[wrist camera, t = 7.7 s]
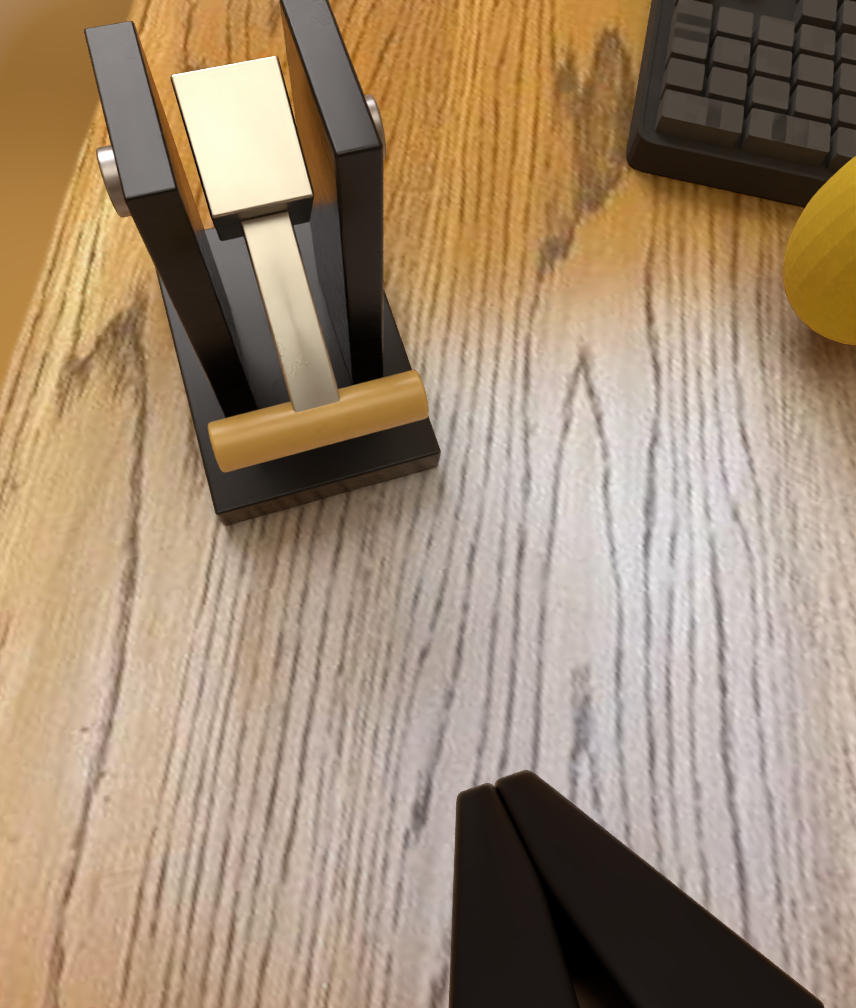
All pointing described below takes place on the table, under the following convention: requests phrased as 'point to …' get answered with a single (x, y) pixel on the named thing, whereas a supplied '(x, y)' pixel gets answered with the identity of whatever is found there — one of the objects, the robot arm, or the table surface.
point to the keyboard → (747, 95)
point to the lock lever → (277, 265)
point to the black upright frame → (229, 274)
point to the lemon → (826, 259)
